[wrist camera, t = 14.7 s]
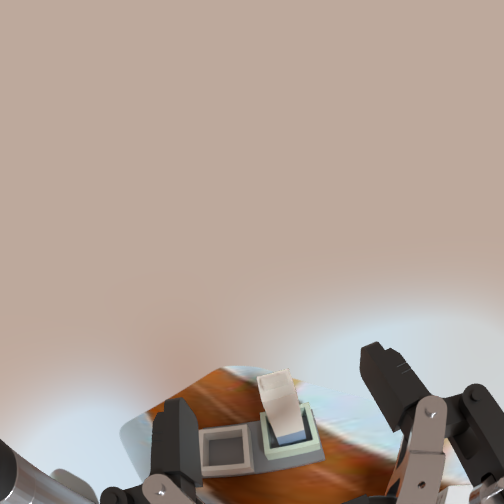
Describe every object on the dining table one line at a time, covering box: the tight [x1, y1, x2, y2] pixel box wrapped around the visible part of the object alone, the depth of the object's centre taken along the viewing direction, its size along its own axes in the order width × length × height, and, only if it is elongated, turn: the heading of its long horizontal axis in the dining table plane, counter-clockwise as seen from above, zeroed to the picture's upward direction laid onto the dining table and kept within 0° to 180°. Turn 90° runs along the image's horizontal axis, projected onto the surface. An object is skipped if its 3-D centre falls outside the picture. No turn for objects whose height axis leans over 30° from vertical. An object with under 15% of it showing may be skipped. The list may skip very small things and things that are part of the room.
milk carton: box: [257, 368, 307, 447], centre depth 29 cm, size 4×4×14 cm
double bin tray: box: [199, 402, 325, 478], centre depth 31 cm, size 17×9×3 cm, turn 94°
